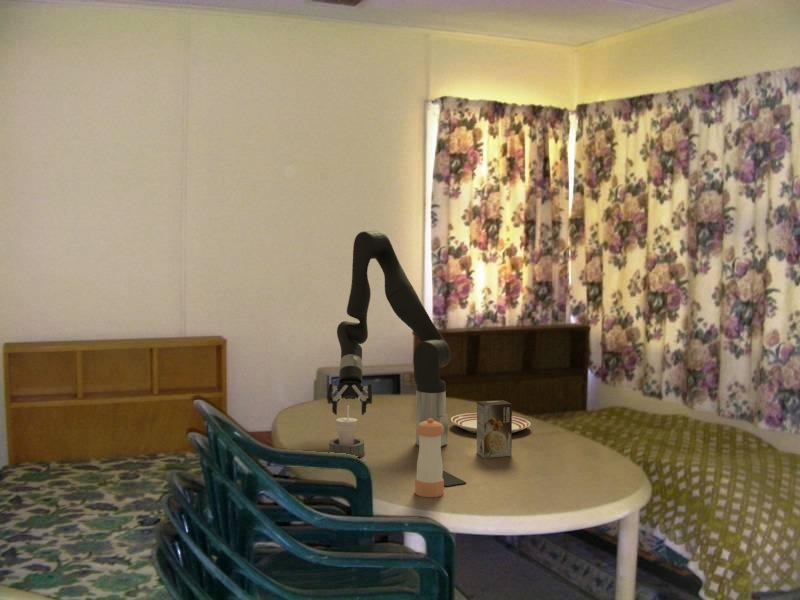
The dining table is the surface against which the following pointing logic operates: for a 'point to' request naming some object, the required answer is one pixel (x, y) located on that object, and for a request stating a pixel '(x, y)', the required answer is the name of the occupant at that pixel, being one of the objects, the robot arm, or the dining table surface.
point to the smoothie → (346, 429)
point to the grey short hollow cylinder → (348, 447)
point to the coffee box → (494, 428)
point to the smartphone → (451, 480)
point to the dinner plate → (470, 422)
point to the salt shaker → (429, 460)
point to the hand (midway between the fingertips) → (349, 413)
